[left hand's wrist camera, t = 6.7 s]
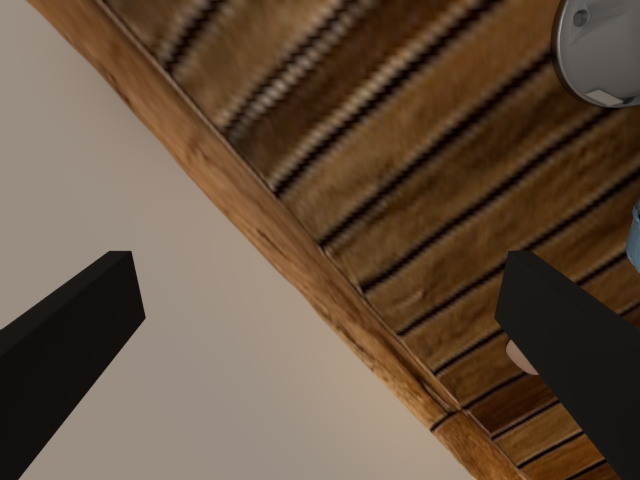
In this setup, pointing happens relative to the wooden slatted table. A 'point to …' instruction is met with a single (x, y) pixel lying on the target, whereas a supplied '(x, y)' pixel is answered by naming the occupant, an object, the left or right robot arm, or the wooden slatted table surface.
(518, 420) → the wooden slatted table surface
